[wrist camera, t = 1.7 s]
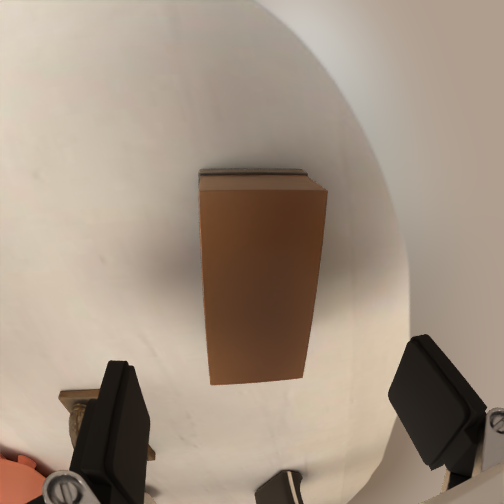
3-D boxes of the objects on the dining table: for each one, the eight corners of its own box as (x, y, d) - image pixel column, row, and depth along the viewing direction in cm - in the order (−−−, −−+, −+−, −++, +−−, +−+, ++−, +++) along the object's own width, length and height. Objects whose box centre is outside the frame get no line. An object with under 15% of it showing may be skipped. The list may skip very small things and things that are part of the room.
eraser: (207, 338, 19) (208, 387, 15) (199, 169, 15) (195, 188, 11) (288, 333, 19) (304, 379, 16) (302, 169, 15) (330, 187, 12)
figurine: (172, 471, 26) (172, 545, 18) (132, 473, 26) (128, 542, 18) (106, 387, 20) (84, 491, 12) (59, 390, 20) (30, 482, 12)
